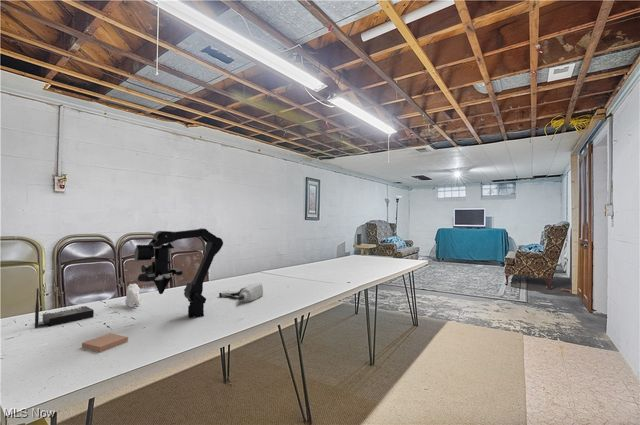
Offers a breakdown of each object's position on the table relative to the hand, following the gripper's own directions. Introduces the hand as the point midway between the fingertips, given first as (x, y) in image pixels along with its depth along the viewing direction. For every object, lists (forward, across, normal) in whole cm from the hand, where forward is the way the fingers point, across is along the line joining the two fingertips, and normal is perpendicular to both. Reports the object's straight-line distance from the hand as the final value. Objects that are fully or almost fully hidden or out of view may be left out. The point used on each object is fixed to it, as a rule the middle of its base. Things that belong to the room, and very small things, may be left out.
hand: (160, 293), depth 135 cm
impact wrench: (+14, -47, +5) cm, 49 cm away
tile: (+12, +20, +1) cm, 23 cm away
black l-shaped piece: (+14, +15, -43) cm, 48 cm away
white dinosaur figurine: (+13, -14, -35) cm, 39 cm away
